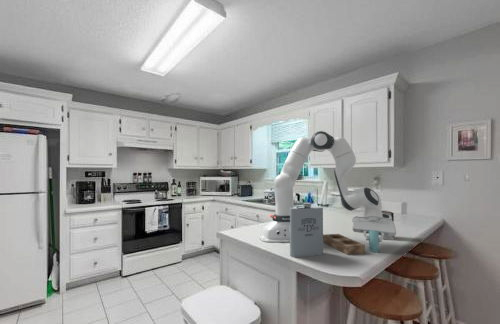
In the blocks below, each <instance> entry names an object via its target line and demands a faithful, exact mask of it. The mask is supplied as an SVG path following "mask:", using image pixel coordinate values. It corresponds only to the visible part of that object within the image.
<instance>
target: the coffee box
mask: <svg viewBox="0 0 500 324" xmlns="http://www.w3.org/2000/svg"><path fill="white" fill-rule="evenodd" d="M381 212H382V213H384V214H387V215H390V216H392V221H393V222H394V219H395V218H394V217H395V216H394V213H395V212H393V211H389V210H381ZM394 223H395V222H394ZM379 237H381V235H379ZM382 240H390V241H394V240H395V236H386V235H384V238H383V239H382Z"/></svg>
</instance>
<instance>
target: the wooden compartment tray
mask: <svg viewBox="0 0 500 324" xmlns="http://www.w3.org/2000/svg"><path fill="white" fill-rule="evenodd" d="M323 243H325V244H327V245H328V246H331V247H332V248H334V249H336V250H338V251H340V252H342V253H344V254H345V255H357V254H358V255H361V254H365V253H366V248H365V247H366V245H365V244H363V243H361V242H359V241H356V240H354V239H351V238H349V237H347V236H345V235H342V234H340V233H331V234H329V233H327V234H323Z"/></svg>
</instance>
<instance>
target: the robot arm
mask: <svg viewBox="0 0 500 324" xmlns="http://www.w3.org/2000/svg"><path fill="white" fill-rule="evenodd" d="M324 151H328V152H330V154H331V155H332V157H333V160H334V163H335V168H334V169H333V173H334V178H335V181H336V185H337V188H338V192H339V195H340V196H339V197H340V202H341V205H342V207H343V208H344V209H346V210H348V211H351V212H352V211H355V210H357V209H359V208H364V212H363V215H364V216H353V217H352V219H351V220H352V221H351V222H352V231H353V232H354V233H361V234H363V236H364V237H365V241H369V230H374V231H378V232H379V235H381V237H379V243H383V240H384V239H383V238H384V235H386V236H394V237H395V236H396V235H397V230H396V229H397V228H396V225H395V222H393V221H392V216H390V215H387V214H384V213H382V212H381V211H382V208H383V207H382V200H381V196H380V195H379V193H377V192H376V191H374V189H372V188H370V187H362V188H359V189H357V190H353V191H351V192H350V191H349V189H348V185H347V182H346V176H347V174H348V173H349V172H350V171H351V170H352V169H353V168H354V167H355V165H356V162H357V157H356V155H355V153H354V151H353V148H352V147H351V145H350V144H349V142H348V141H347V140H346V138H345V137H343V136H337V137H334V136H332V135H330V134H329V132H326V131H323V130H319V131H316V132H315V133H313V134H312V136H311V137H309V138H308V137H305V136H301V137H298V139H297V140H296V141H295V142H294V144H293V145H292V147H291V148H290V151H289V153H288V154H287V157H286V159H285V161H284V164H283V166H282V168H281V171H280V174H278V175H277V176H275V178H274V180H273V186H274V187H273V188H274V198H275V201H274V202H275V203H274V205H275V213H274V214H273V213H271V214H269V217H270V218H272V220H271V221H270V222H268V223H267V224H266V225H265V226H264V227H263V230H262V234H261V233H260V234H259V235H258V238H259V239H260V240H261V241H263V242H265V243H290V208H295V206H294V204H295V203H294V187H295V184H296V182H297V180H298V178H299V175H300V173H301V171H302V169H303V167H304V165H305V163H306V161H307V160H308V157H309V155H310V154H311V152H319V153H321V152H324ZM367 234H368V235H367Z"/></svg>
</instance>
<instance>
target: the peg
mask: <svg viewBox="0 0 500 324" xmlns="http://www.w3.org/2000/svg"><path fill="white" fill-rule="evenodd" d="M368 236H369V240H368V250H369V252H371V253H379V252H380V244H379V243H380V242H379V232H378V231H374V230H369V234H368Z"/></svg>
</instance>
